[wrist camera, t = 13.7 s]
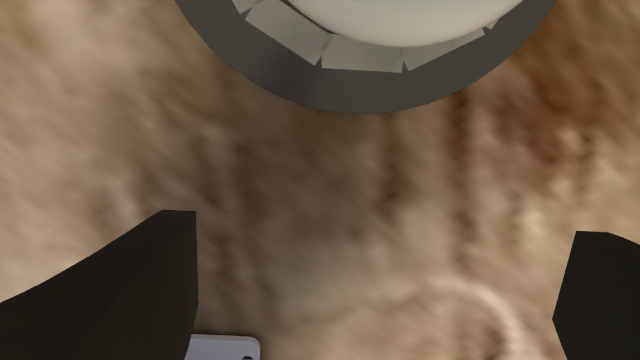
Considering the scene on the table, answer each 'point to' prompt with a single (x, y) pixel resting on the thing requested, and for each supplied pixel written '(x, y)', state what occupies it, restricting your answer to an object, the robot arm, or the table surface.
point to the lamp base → (351, 55)
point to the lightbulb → (404, 19)
